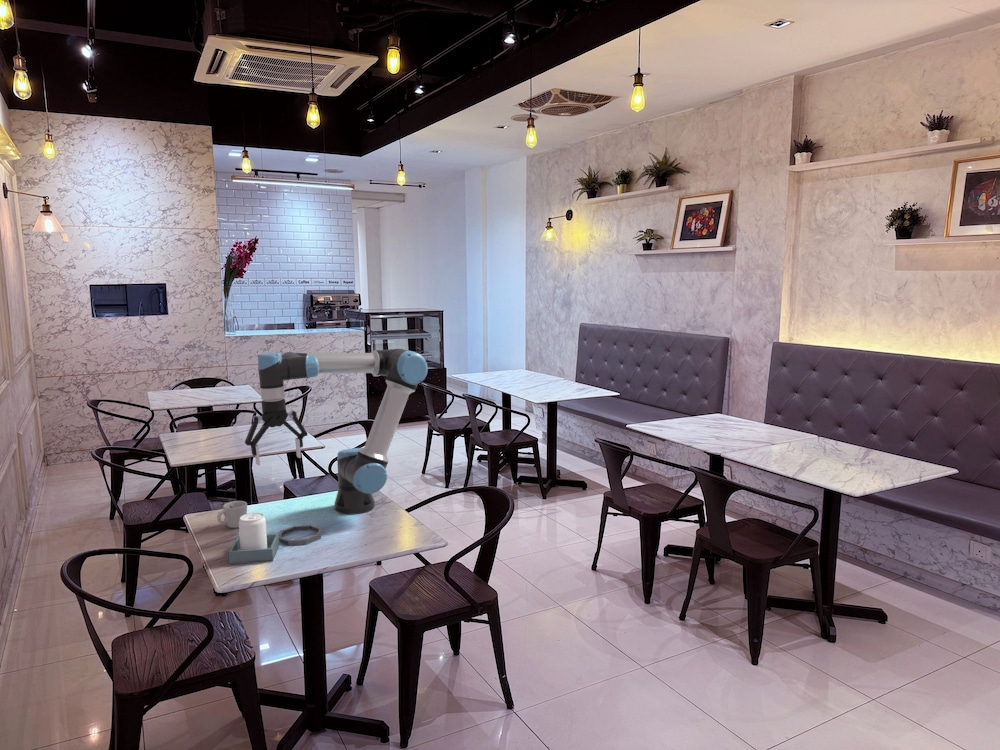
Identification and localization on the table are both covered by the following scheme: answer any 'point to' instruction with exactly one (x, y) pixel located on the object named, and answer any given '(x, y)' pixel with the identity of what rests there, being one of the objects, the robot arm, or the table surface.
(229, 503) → the cup
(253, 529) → the beverage can
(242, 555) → the bin
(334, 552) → the table surface
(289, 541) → the collar
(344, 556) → the table surface
